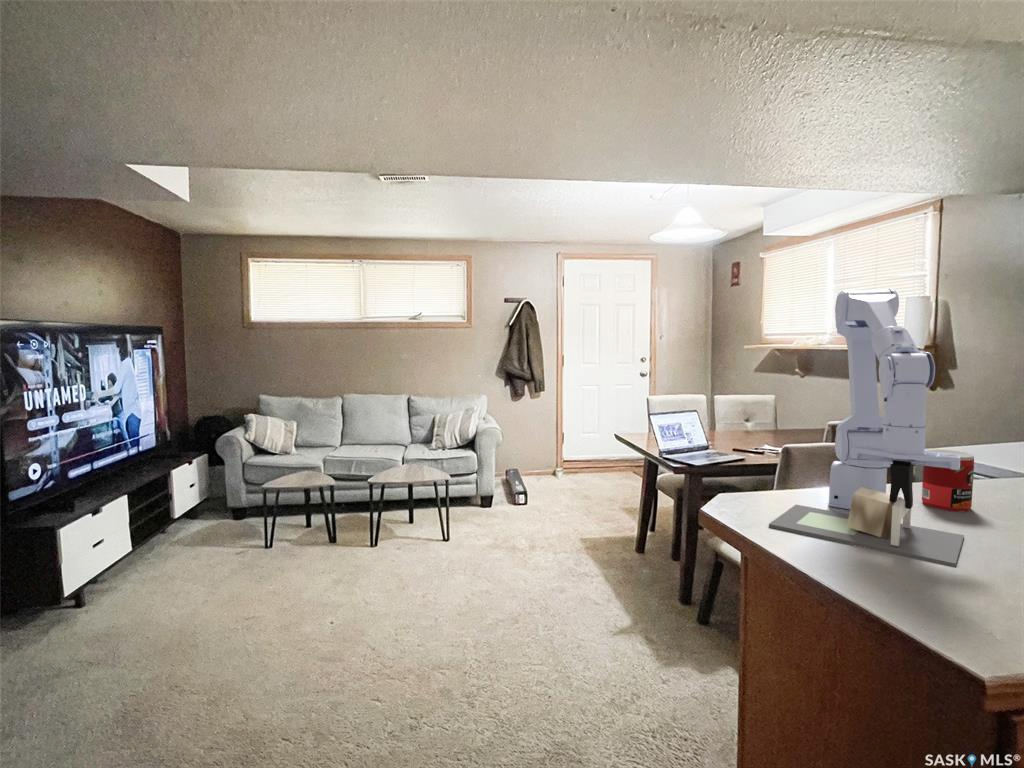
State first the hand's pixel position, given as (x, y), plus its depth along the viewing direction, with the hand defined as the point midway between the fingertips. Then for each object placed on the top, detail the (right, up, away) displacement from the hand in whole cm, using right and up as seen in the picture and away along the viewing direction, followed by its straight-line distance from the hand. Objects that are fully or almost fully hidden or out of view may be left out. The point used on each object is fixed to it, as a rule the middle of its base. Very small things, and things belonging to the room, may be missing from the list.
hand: (901, 506), depth 89 cm
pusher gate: (0, -6, 0) cm, 6 cm away
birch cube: (-1, -2, +1) cm, 2 cm away
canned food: (+23, -5, +19) cm, 30 cm away
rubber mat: (-4, -6, +4) cm, 8 cm away
